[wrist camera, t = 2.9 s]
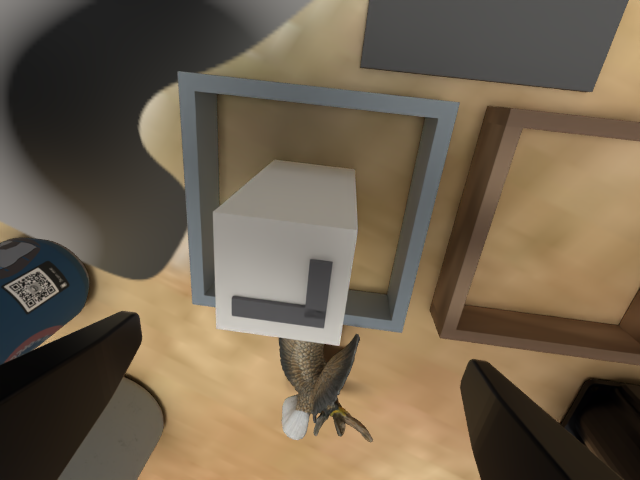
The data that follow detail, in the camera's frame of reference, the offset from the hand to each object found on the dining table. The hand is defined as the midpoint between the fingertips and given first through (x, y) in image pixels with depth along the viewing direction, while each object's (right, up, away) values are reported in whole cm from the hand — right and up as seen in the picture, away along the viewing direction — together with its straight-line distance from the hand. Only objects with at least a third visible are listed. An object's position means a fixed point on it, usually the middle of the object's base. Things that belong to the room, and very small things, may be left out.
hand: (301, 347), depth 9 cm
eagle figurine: (+1, -5, +17) cm, 18 cm away
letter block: (0, +5, +12) cm, 14 cm away
